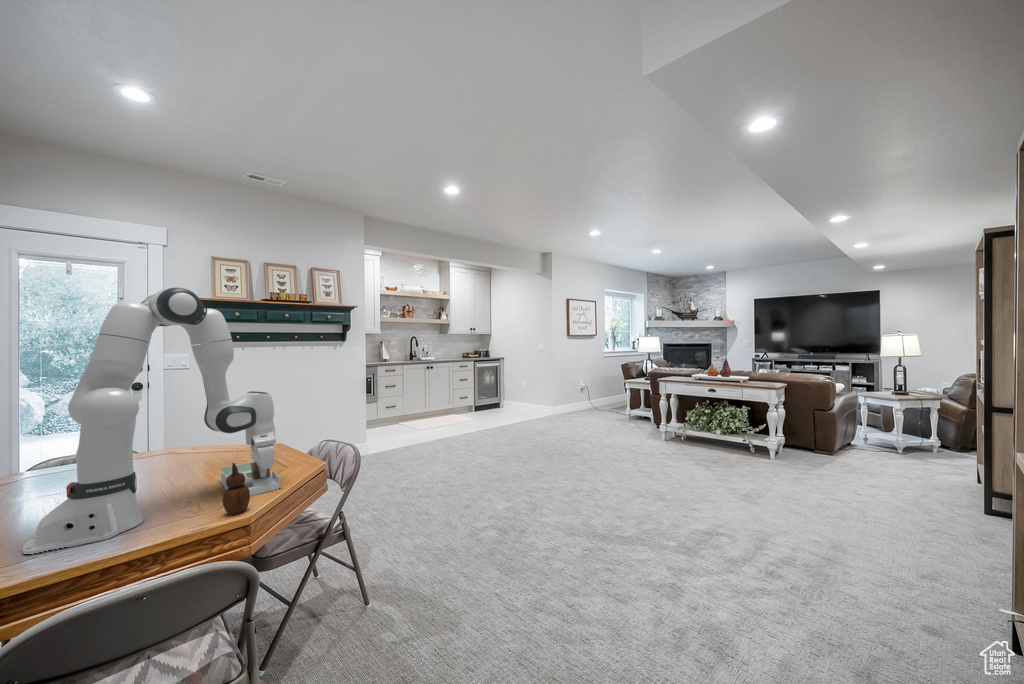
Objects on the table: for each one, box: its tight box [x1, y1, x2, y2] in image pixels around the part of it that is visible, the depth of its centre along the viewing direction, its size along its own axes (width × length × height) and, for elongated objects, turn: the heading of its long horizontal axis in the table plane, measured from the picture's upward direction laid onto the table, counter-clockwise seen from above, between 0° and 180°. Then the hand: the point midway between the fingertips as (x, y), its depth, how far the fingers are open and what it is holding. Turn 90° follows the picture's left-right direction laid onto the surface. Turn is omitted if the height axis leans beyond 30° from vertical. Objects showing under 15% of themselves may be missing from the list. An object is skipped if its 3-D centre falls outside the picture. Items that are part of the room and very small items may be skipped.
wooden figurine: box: [222, 462, 251, 515], centre depth 122 cm, size 7×6×15 cm
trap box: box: [220, 460, 281, 497], centre depth 147 cm, size 14×28×5 cm, turn 41°
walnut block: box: [251, 462, 271, 479], centre depth 149 cm, size 5×5×5 cm
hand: (262, 476), depth 145 cm, fingers closed
